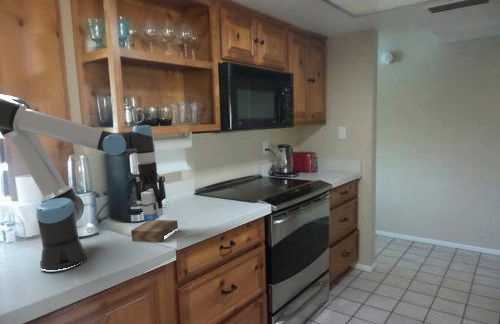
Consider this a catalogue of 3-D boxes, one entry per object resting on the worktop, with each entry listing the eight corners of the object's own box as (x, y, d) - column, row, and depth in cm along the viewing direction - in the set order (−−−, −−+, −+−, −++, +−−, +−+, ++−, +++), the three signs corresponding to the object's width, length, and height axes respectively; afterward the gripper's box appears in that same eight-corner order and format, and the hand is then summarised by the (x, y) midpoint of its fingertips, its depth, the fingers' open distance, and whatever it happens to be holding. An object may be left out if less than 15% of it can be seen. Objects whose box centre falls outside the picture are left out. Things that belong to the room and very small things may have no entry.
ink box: (154, 220, 141) (150, 193, 139) (143, 220, 142) (139, 193, 140) (163, 214, 149) (160, 188, 147) (153, 214, 150) (149, 188, 148)
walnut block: (132, 242, 142) (130, 230, 141) (151, 230, 155) (150, 219, 155) (161, 243, 138) (160, 231, 137) (178, 231, 151) (177, 220, 150)
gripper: (170, 160, 143) (176, 212, 147) (132, 161, 147) (139, 213, 151) (162, 163, 136) (168, 218, 139) (122, 164, 140) (130, 218, 144)
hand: (153, 215), depth 145 cm, fingers closed on ink box, 5 cm apart
